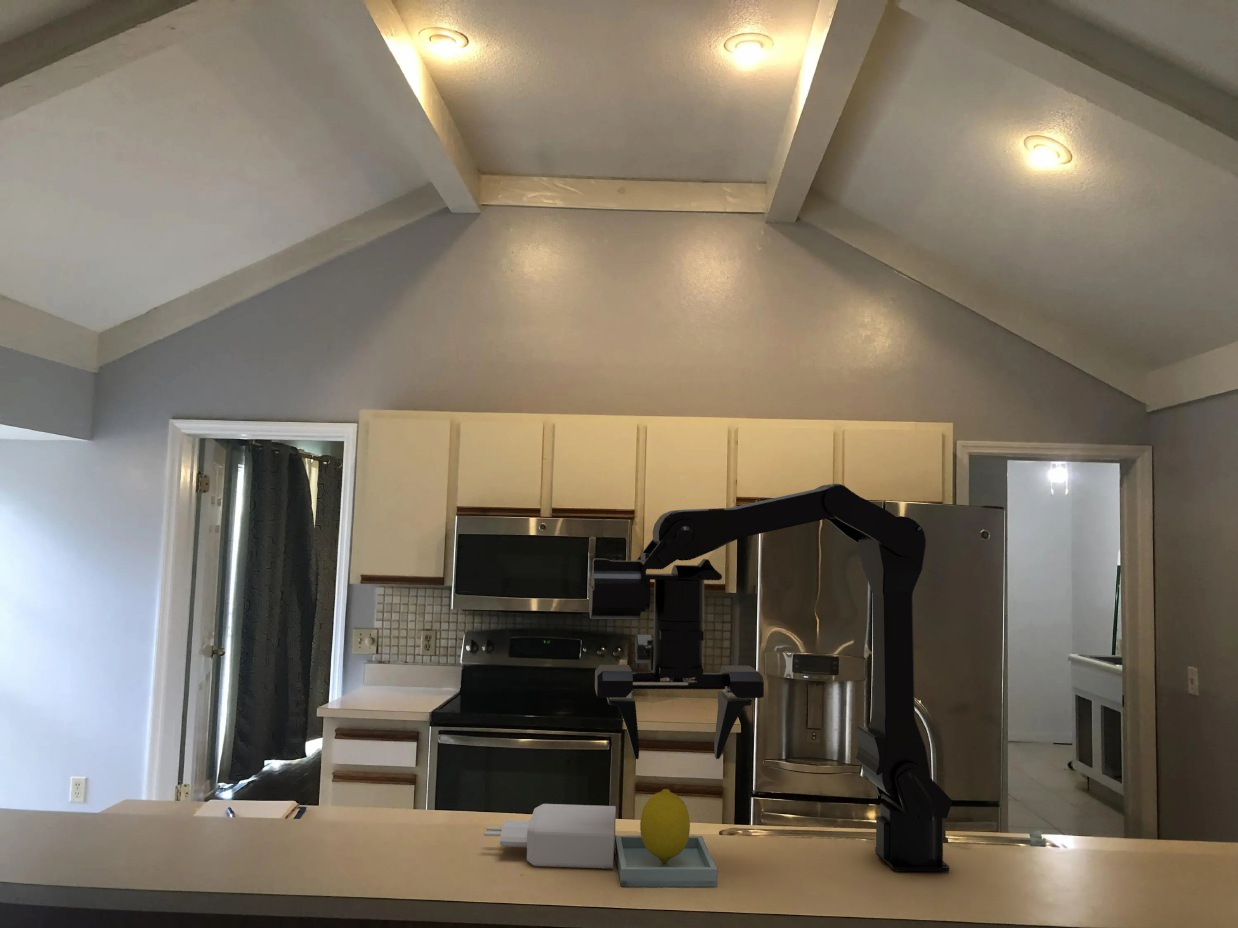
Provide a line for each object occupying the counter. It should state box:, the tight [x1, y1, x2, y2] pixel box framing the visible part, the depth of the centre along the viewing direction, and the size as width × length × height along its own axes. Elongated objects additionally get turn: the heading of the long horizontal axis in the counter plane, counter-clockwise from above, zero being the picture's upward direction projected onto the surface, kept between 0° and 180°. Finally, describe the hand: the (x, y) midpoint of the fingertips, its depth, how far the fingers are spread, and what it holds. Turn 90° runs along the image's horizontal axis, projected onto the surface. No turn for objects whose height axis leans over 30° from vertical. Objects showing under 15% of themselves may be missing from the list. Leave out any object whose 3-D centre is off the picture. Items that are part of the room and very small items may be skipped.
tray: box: [614, 834, 718, 888], centre depth 99 cm, size 10×10×2 cm
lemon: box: [639, 788, 691, 863], centre depth 100 cm, size 6×6×8 cm
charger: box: [483, 803, 617, 870], centre depth 103 cm, size 5×9×15 cm
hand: (676, 758), depth 101 cm, fingers open, 9 cm apart
